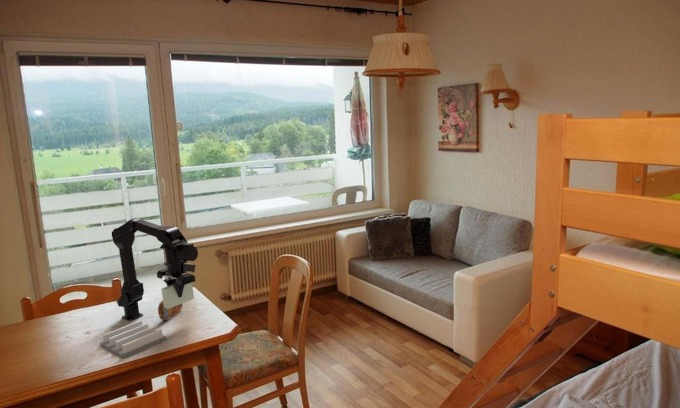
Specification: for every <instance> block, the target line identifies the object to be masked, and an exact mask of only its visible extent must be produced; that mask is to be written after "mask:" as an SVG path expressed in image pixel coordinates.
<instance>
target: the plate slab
mask: <svg viewBox="0 0 680 408" xmlns="http://www.w3.org/2000/svg"><path fill="white" fill-rule="evenodd" d="M161 295H162V301H163V304H164V308H166V309H169V308H172V307H174V306H177V305H179V304H182V305H183V304H184V303H187V302H189V301H192V300H194V299H195V296H194V289H193V282H192V283H189V284H186V285H184V289H183V293H182V297H180V298H179V297H178V295H177V293H176V290H175V288H174V286H173V285H170V286H167V285H166V286H165V287H162V288H161Z"/></svg>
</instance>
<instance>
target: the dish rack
mask: <svg viewBox="0 0 680 408" xmlns="http://www.w3.org/2000/svg"><path fill="white" fill-rule="evenodd" d="M167 340H168V337H167V336H166V335H164V333H163V329H161V328H160V329H157V330H156V326H155V325H152V326H151V327H149V323H147V322H146V323H144V324H143V321H142V320H137V321H135V322H132V323H130V324H126V325H125V326H121V327H119V328H116V329H115V330H112V331H109V332H106V333H104V334H102V341H100V342H99V345H100V347H102V348H104V349H106V350H108V351H110V352H112V353H113V354H115V355H116V356H118V357H120V358H122V359H126V358H128V357H130V356H133V355H134V354H137V353H138V352H141V351H144V350H145V349H148V348H150V347H153V346H155V345H158V344H159V343H162V342H163V341H167Z"/></svg>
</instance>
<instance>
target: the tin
mask: <svg viewBox="0 0 680 408" xmlns="http://www.w3.org/2000/svg"><path fill="white" fill-rule="evenodd" d="M182 308H183V303H182V304H179V305H177V306H174V307H172V308H169V309H166V308H164V304H163V300H161V301H160V302H159V304H158V308H157V312H158V317H159V319H160V320H162V321H170V320H171V319H172V318H174V317H175V316H176V315H178V314H179V313H180V312H181V310H182Z"/></svg>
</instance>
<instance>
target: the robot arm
mask: <svg viewBox="0 0 680 408" xmlns="http://www.w3.org/2000/svg"><path fill="white" fill-rule="evenodd" d="M137 232H140V233H143V234H146V235H150V236H151V237H155V238H156V239H157V241H158V242H160V243H161V245H160V246H159V249H160V250H161V249H163V250H164V256H165V262H164V264H163V265H164V266H166V268H162V269H159V270H157V272H156V278H157V279H163V277H164V279H163V282H165V284H166V287H167V286H170V285H173V286H174V288H175V290H176V293H177V295H178V297H179V298H180V297H182V293H183V289H184V285H186V284H189V283H192V284H193V283H195V282H196V276H195V275H194V274H192V273H195V270H196V265H197V264H195V263H191V262H195V261H196V260H197V259H198V256H199V251H198V248H197V247H196V246H194V243H192V242H191V243H188V240H187V239H186V237H185V236H184V235H183V233H182V232H181V231H180V229H179V227H178V226H177V227H176V226H172V225H167V226H166V225H165V226H162V225H159V224H156V223H153V222H150V221H147V220H145V219H141V218H139V217H135V218H131V219H129V220H127V221H126V222H125V223H123V224H122V225H120V226H119V227H117V228H116V227H115V228H114V229H113V230H112V231H111V238H112V241H113V244H114V245H115V246H116V247H117V249H118V252H119V259H120V265H121V271H122V277H123V283H122V286H121V288H120V289H121V291H120V292H121V295H120V296H119V298H118V300H117V301H116V303H117V306H118V307H121V308H123V311H124V315H122V316H121V318H122V319H124V320H126V321H132V320H134V319H137V318H140V317H142V316H144V314H143V313H141V312H140V310H139V309H140V308H139V303H138V302H140V301H142V300H143V295H144V293H145V289H144V283H143V282H140V281H139V280H138V278H137V272H136V265H135V259H134V251H133V245H134V242H135V240H136V237H135V234H136V233H137ZM187 272H188V273H187ZM191 272H192V273H191Z"/></svg>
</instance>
